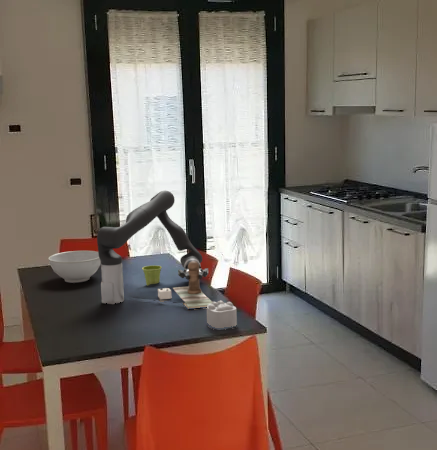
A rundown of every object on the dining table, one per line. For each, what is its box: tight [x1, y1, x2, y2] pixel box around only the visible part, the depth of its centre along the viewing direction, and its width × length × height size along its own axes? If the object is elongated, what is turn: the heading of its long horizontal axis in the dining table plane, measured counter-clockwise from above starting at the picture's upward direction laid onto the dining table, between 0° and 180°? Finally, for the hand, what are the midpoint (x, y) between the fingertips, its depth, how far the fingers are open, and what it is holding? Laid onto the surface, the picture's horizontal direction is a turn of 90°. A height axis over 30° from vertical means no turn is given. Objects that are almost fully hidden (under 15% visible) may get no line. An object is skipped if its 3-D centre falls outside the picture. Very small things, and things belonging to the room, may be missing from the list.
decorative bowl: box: [47, 250, 101, 284], centre depth 326 cm, size 27×27×12 cm
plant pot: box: [141, 265, 162, 286], centre depth 312 cm, size 9×9×9 cm
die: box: [157, 287, 172, 303], centre depth 286 cm, size 5×5×6 cm
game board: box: [172, 285, 213, 309], centre depth 288 cm, size 32×12×2 cm, turn 16°
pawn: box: [188, 261, 202, 294], centre depth 282 cm, size 6×6×14 cm
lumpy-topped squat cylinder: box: [206, 300, 238, 328], centre depth 251 cm, size 10×13×9 cm
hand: (194, 277), depth 280 cm, fingers closed on pawn, 4 cm apart
